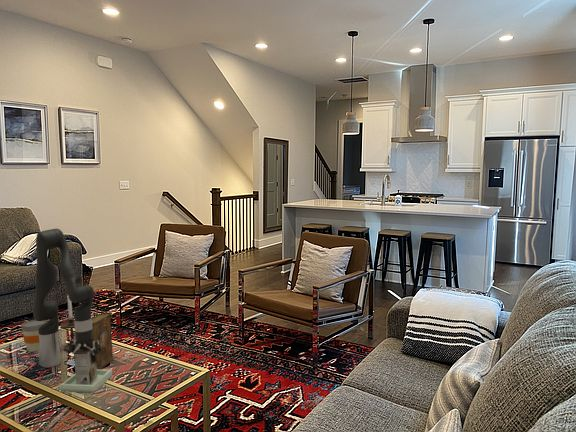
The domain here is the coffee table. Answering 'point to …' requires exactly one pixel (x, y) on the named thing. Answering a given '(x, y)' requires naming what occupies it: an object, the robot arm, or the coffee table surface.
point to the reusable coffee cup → (32, 334)
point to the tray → (98, 382)
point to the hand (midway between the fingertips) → (85, 361)
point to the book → (103, 339)
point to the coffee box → (84, 367)
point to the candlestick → (69, 324)
